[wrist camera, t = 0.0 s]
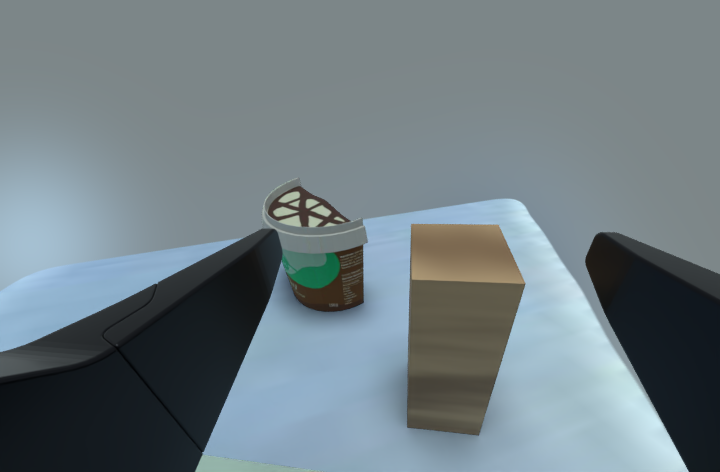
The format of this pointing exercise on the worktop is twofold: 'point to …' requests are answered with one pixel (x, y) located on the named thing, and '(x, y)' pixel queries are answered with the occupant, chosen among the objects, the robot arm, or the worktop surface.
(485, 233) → the walnut post
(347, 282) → the food container
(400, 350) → the worktop surface
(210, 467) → the tray
